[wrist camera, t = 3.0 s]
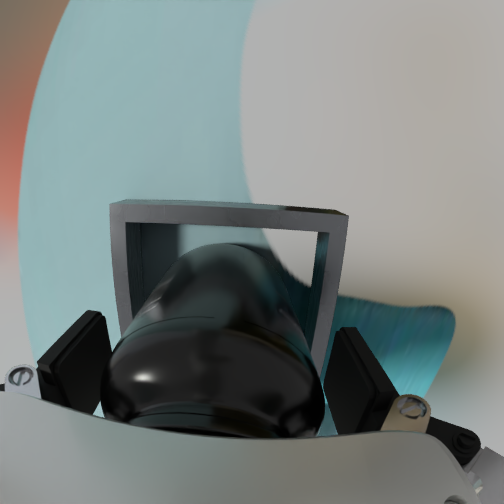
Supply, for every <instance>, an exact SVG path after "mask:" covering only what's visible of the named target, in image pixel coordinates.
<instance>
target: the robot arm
mask: <svg viewBox="0 0 504 504" xmlns="http://www.w3.org/2000/svg"><path fill="white" fill-rule="evenodd" d="M111 353H112V350H111V345H110V340H109V335H108V329H107V324H106V318H105V316H102V313H101V312H98V311H92V310H87V311H86V312H85V313H84V314H83V315H82V316H81V317H80V318H79V319H78V320H77V321H76V322H75V323H74V324H73V325H72V326H71V327H70V328H69V329H68V330H67V331H66V332H65V333H64V334H63V335H62V336H61V337H60V338H59V339H58V340H57V341H56V342H55V343H54V344H53V345H52V346H51V347H50V348H49V349H48V350H47V351H46V353H45V354H44V355H43V356H42V357H41V358H40V359H39V360H38V361H37V364H38V368H37V369H35V368H34V367H32V366H30V365H18V366H15V367H13V368H11V369H10V370H9V371H8V372H7V374H6V376H5V384H0V504H504V457H503V456H501V455H499V454H498V453H496V452H494V451H493V450H491V449H489V448H488V447H485V448H484V449H482V448H481V443H480V439H479V437H478V436H477V435H476V434H475V433H474V432H473V431H470V430H468V429H465V428H462V427H459V426H456V425H453V424H451V423H448V422H445V421H442V420H439V419H436V418H434V417H431V416H430V415H431V408H430V405H429V404H428V403H427V401H425V400H424V399H423V398H421V397H419V396H417V395H412V394H405V395H401V396H400V395H399V394H398V392H397V391H396V389H395V387H394V386H393V384H392V382H391V381H390V379H389V378H388V376H387V374H386V373H385V371H384V370H383V368H382V366H381V365H380V363H379V362H378V360H377V359H376V358H375V356H374V355H373V353H372V351H371V350H370V348H369V347H368V345H367V344H366V342H365V341H364V339H363V338H362V336H361V335H360V333H359V331H358V330H357V328H356V327H342V328H341V329H340V331H336V333H335V337H334V342H333V346H332V350H331V355H330V359H329V363H328V367H327V371H326V375H325V379H324V383H323V389H324V393H325V396H326V399H327V402H328V405H329V408H330V411H331V414H332V417H333V420H334V423H335V427H336V430H337V433H338V435H330V436H318V437H299V438H238V437H220V436H208V435H198V434H189V433H181V432H173V431H166V430H160V429H154V428H149V427H143V426H138V425H133V424H128V423H124V422H119V421H115V420H111V419H107V418H103V417H99V416H95V415H93V413H94V411H95V409H96V408H97V406H98V404H99V402H100V381H101V376H102V372H103V370H104V367H105V365H106V363H107V361H108V359H109V357H110V355H111Z"/></svg>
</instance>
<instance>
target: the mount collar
mask: <svg viewBox="0 0 504 504" xmlns="http://www.w3.org/2000/svg"><path fill="white" fill-rule="evenodd" d="M348 218H349V216H348V215H346V214H343V213H341V212H339V211H337V210H331V209H319V208H306V207H295V206H281V205H267V204H251V203H233V202H211V201H183V200H123V201H119V202H115V203H112V204H110V236H111V253H112V266H113V277H114V287H115V296H116V304H117V311H118V318H119V325H120V331H121V337H122V336H123V334H124V333H125V331H126V330H127V328H128V327H129V325H130V324H131V322H132V321H133V319H134V318H135V316H136V315H137V313H138V312H139V310H140V309H141V307H142V306H143V304H144V303H145V302H144V290H143V275H142V257H141V223H140V222H143V223H171V224H195V225H216V226H235V227H254V228H271V229H288V230H303V231H316V232H318V236H317V245H316V254H315V262H314V269H313V278H312V284H311V292H310V298H309V305H308V312H307V318H306V324H305V331H304V337H305V339H306V342H307V345H308V347H309V350H310V353H311V356H312V358H313V361H314V364H315V367H316V370H317V372H318V375H319V378H320V375H321V371H322V366H323V362H324V358H325V354H326V349H327V345H328V340H329V335H330V331H331V326H332V321H333V316H334V310H335V305H336V300H337V294H338V288H339V282H340V276H341V270H342V263H343V256H344V250H345V242H346V235H347V227H348Z"/></svg>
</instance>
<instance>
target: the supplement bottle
mask: <svg viewBox="0 0 504 504" xmlns="http://www.w3.org/2000/svg"><path fill="white" fill-rule="evenodd" d="M100 400H101V406H102V410H103V414H104V417H105V418H107V419H111V420H115V421H119V422H124V423H128V424H133V425H138V426H143V427H149V428H154V429H160V430H166V431H173V432H181V433H189V434H198V435H208V436H220V437H238V438H299V437H317V436H318V434H319V432H320V429H321V427H322V424H323V419H324V414H325V398H324V393H323V389H322V385H321V382H320V378H319V375H318V372H317V370H316V367H315V364H314V361H313V358H312V356H311V353H310V350H309V347H308V345H307V342H306V339H305V337H304V334H303V331H302V328H301V326H300V323H299V320H298V318H297V315H296V312H295V310H294V307H293V304H292V302H291V299H290V296H289V294H288V291H287V289H286V287H285V284H284V282H283V280H282V278H281V276H280V275H279V273H278V272H277V271H276V269H275V268H274V267H273V266H272V265H271V264H270V263H269V262H268V261H267V260H266V259H265V258H263V257H262V256H261V255H259V254H257V253H256V252H254V251H252V250H249V249H247V248H244V247H241V246H237V245H232V244H211V245H206V246H201V247H199V248H196V249H193V250H191V251H189V252H188V253H186V254H184V255H183V256H182V257H180V258H179V259H178V260H177V261H176V262H175V263H173V264H172V266H171V267H170V268H169V269H168V270H167V272H166V273H165V274H164V276H163V277H162V278H161V280H160V281H159V283H158V284H157V286H156V287H155V288H154V290H153V291H152V293H151V294H150V296H149V297H148V298H147V300H146V301H145V303H144V304H143V306H142V307H141V309H140V310H139V312H138V313H137V315H136V316H135V318H134V319H133V321H132V322H131V324H130V325H129V327H128V328H127V330H126V331H125V333H124V334H123V336H122V337H121V339H120V340H119V342H118V343H117V345H116V347H115V348H114V350H113V352H112V353H111V355H110V357H109V359H108V361H107V363H106V365H105V367H104V370H103V372H102V376H101V381H100Z"/></svg>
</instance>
